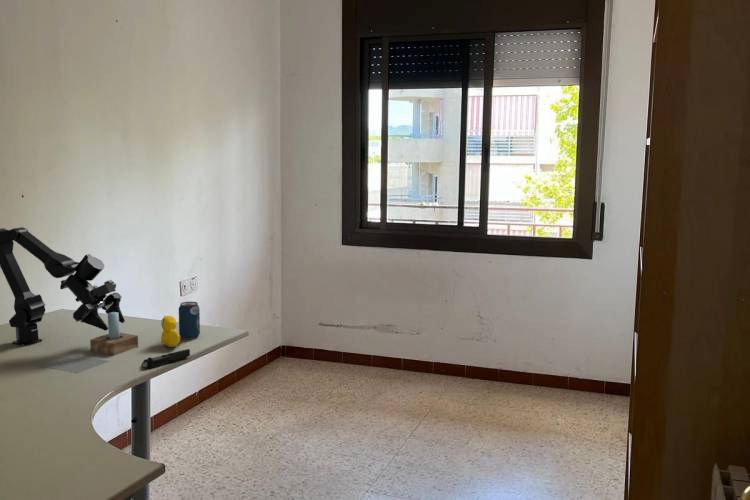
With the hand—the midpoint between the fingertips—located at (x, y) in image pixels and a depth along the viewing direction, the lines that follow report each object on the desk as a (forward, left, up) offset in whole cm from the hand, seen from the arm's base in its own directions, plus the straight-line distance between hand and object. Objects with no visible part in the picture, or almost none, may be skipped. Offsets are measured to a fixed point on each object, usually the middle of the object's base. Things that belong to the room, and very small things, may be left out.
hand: (115, 325), depth 202 cm
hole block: (-1, 0, -8) cm, 8 cm away
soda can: (+11, +22, -8) cm, 26 cm away
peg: (-1, 0, -8) cm, 8 cm away
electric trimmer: (+23, -3, -8) cm, 24 cm away
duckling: (+12, +11, -8) cm, 18 cm away
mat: (0, -16, -8) cm, 18 cm away
